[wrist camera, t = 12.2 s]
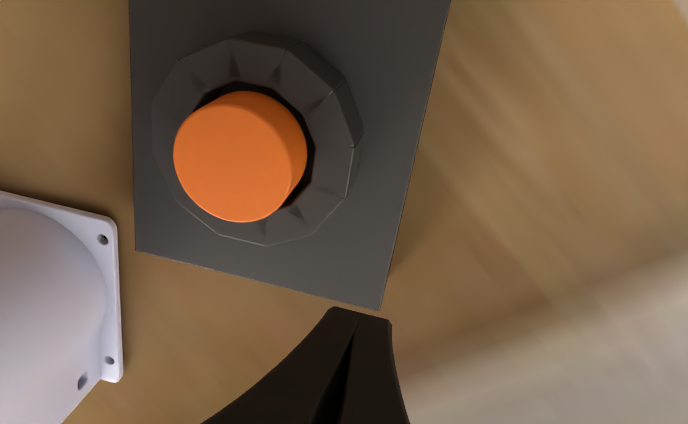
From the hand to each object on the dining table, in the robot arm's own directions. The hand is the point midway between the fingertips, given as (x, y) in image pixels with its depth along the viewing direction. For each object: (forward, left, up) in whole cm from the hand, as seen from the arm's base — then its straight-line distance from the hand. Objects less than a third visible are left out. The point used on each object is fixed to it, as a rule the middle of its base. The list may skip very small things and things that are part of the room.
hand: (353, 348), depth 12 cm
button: (+2, +5, -6) cm, 8 cm away
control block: (+2, +5, -10) cm, 11 cm away
